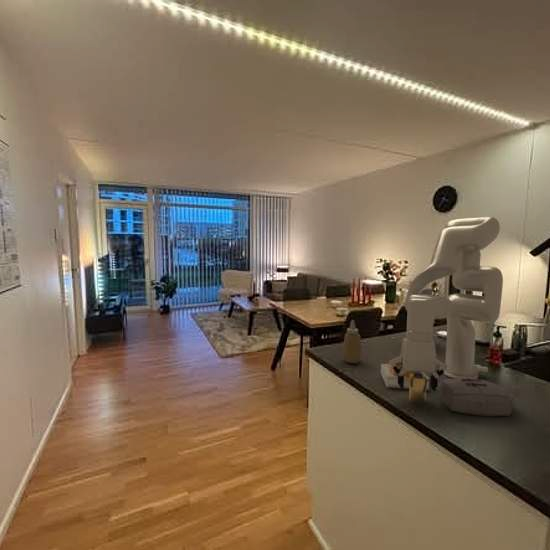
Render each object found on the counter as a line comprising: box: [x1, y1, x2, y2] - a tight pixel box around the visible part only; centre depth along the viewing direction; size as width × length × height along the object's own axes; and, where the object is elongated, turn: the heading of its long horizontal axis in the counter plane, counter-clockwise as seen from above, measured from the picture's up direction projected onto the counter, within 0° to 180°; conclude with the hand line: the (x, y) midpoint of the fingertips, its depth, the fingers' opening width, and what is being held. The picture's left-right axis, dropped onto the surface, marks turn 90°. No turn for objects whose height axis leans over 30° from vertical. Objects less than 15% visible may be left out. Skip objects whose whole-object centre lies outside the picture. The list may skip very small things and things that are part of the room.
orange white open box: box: [380, 361, 430, 391], centre depth 114 cm, size 14×12×6 cm
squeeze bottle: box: [342, 320, 363, 364], centre depth 134 cm, size 8×8×18 cm
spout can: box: [408, 372, 428, 405], centre depth 101 cm, size 6×5×9 cm
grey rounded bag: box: [437, 378, 516, 417], centre depth 96 cm, size 15×8×20 cm
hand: (416, 387), depth 100 cm, fingers open, 9 cm apart
